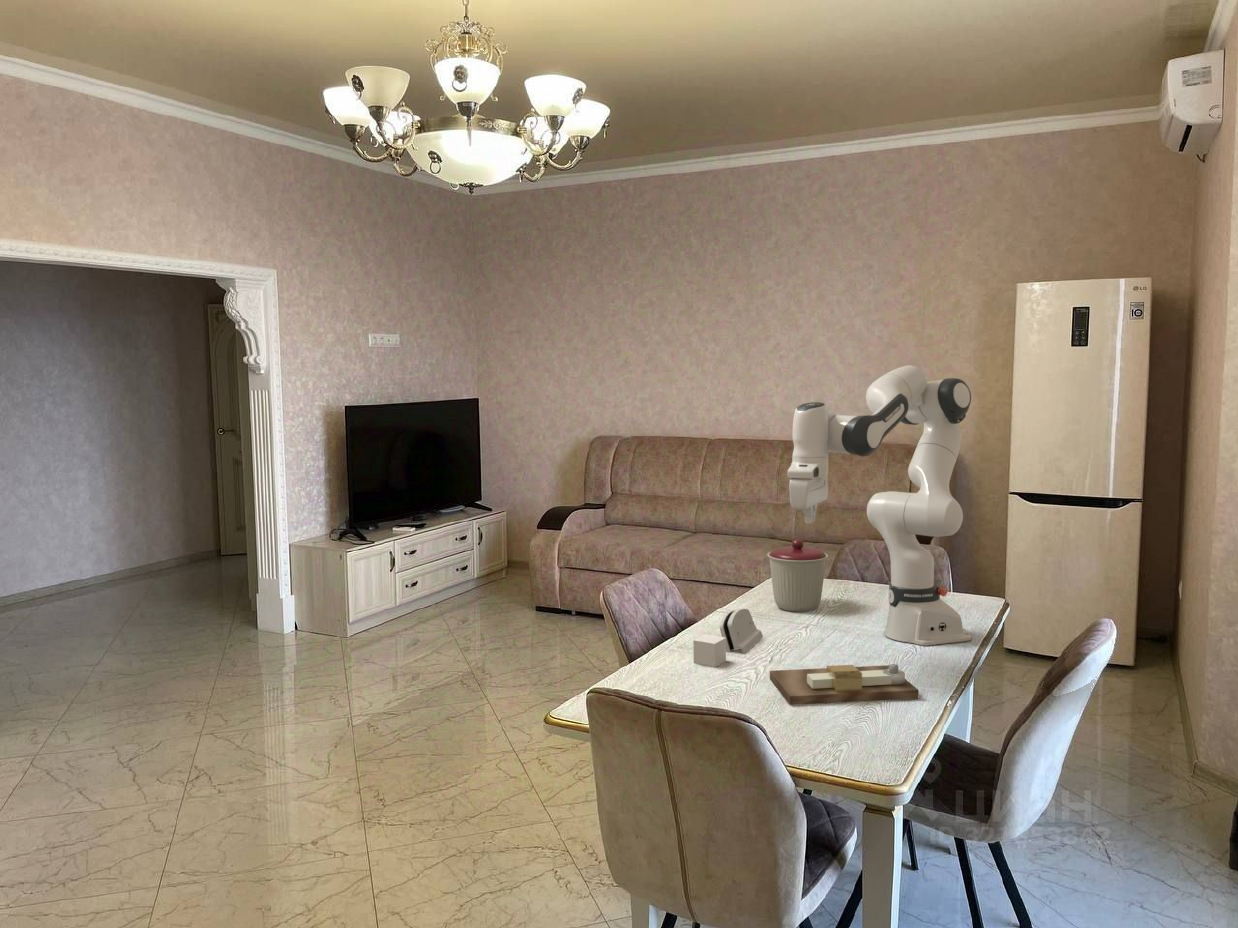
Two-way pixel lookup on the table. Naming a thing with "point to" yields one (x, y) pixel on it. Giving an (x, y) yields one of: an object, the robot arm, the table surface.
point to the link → (868, 678)
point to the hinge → (739, 630)
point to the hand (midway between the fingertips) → (809, 522)
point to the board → (801, 692)
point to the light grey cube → (709, 650)
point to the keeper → (845, 678)
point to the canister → (797, 576)
